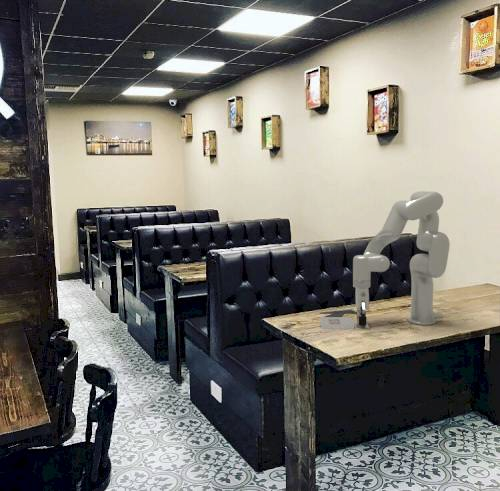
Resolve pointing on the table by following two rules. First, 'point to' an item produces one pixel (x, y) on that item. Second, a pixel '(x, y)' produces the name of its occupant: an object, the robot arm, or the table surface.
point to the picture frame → (337, 312)
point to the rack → (339, 323)
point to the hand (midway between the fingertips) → (361, 322)
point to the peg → (358, 318)
